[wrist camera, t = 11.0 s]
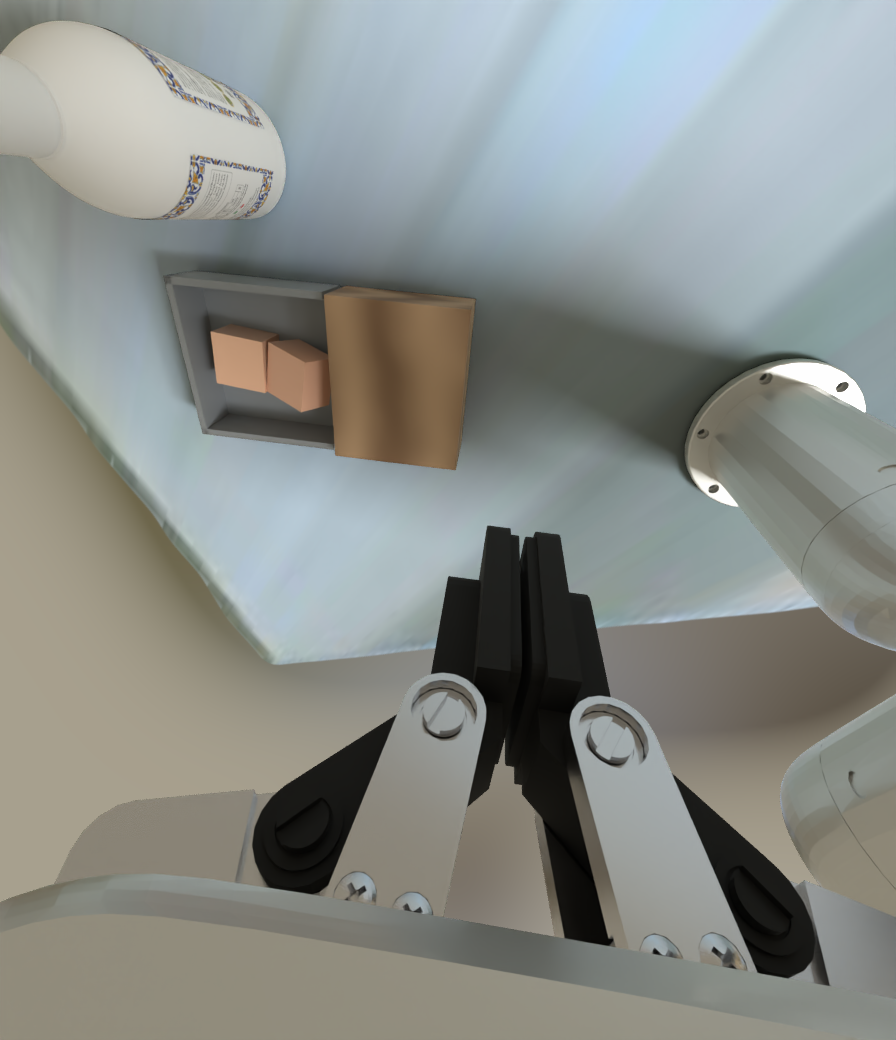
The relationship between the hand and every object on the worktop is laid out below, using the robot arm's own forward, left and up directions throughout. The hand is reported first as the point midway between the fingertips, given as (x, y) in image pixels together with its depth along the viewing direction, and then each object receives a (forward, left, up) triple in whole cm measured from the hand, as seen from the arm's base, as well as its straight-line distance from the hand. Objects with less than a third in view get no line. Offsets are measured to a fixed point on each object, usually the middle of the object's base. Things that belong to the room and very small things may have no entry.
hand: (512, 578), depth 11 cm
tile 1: (+16, +5, -28) cm, 32 cm away
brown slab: (+8, +4, -29) cm, 30 cm away
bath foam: (+20, -9, -29) cm, 37 cm away
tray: (+19, +4, -29) cm, 35 cm away
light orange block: (+21, +4, -26) cm, 33 cm away
